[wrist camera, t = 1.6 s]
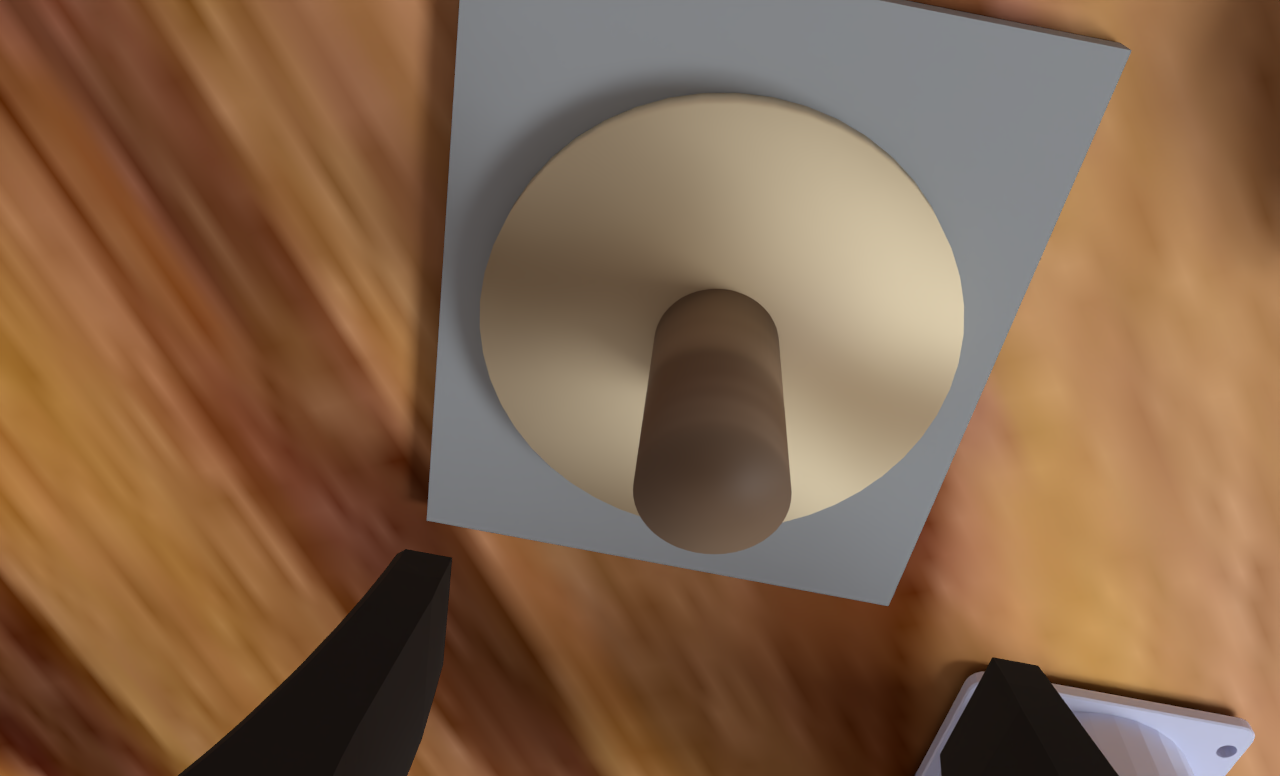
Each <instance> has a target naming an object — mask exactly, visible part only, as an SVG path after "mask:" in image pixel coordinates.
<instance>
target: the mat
mask: <svg viewBox="0 0 1280 776" xmlns="http://www.w3.org/2000/svg"><path fill="white" fill-rule="evenodd" d="M1131 51H1132V50H1130V49H1129V48H1127V47H1125V46H1124V45H1122V44H1121V43H1118V42H1113V41H1108V40H1103V39H1098V38H1093V37H1088V36H1083V35H1078V34H1072V33H1067V32H1062V31H1057V30H1052V29H1047V28H1042V27H1037V26H1032V25H1027V24H1022V23H1017V22H1012V21H1007V20H1002V19H997V18H992V17H987V16H982V15H977V14H972V13H967V12H962V11H957V10H952V9H947V8H942V7H937V6H932V5H927V4H922V3H917V2H912V1H907V0H460V2H459V17H458V33H457V49H456V65H455V81H454V97H453V113H452V128H451V144H450V160H449V176H448V192H447V208H446V224H445V240H444V255H443V271H442V287H441V303H440V319H439V335H438V351H437V366H436V382H435V398H434V414H433V430H432V446H431V462H430V477H429V493H428V509H427V521H432V522H437V523H443V524H448V525H454V526H459V527H464V528H470V529H475V530H481V531H486V532H491V533H497V534H502V535H508V536H513V537H518V538H524V539H529V540H535V541H540V542H545V543H551V544H556V545H562V546H567V547H572V548H578V549H583V550H589V551H594V552H599V553H605V554H610V555H616V556H621V557H626V558H632V559H637V560H642V561H648V562H653V563H659V564H664V565H669V566H675V567H680V568H686V569H691V570H696V571H702V572H707V573H713V574H718V575H723V576H729V577H734V578H740V579H745V580H750V581H756V582H761V583H767V584H772V585H777V586H783V587H788V588H794V589H799V590H804V591H810V592H815V593H821V594H826V595H831V596H837V597H842V598H848V599H853V600H858V601H864V602H869V603H875V604H880V605H885V606H889V603H890V601H891V599H892V597H893V594H894V592H895V590H896V587H897V585H898V583H899V581H900V578H901V576H902V574H903V571H904V569H905V567H906V565H907V562H908V560H909V558H910V556H911V553H912V551H913V549H914V546H915V544H916V542H917V540H918V537H919V535H920V533H921V530H922V528H923V526H924V524H925V521H926V519H927V517H928V514H929V512H930V510H931V508H932V505H933V503H934V501H935V498H936V496H937V494H938V492H939V489H940V487H941V485H942V482H943V480H944V478H945V476H946V473H947V471H948V469H949V466H950V464H951V462H952V460H953V457H954V455H955V453H956V450H957V448H958V446H959V444H960V441H961V439H962V437H963V434H964V432H965V430H966V428H967V425H968V423H969V421H970V418H971V416H972V414H973V412H974V409H975V407H976V405H977V402H978V400H979V398H980V396H981V393H982V391H983V389H984V386H985V384H986V382H987V380H988V377H989V375H990V373H991V370H992V368H993V366H994V364H995V361H996V359H997V357H998V354H999V352H1000V350H1001V348H1002V345H1003V343H1004V341H1005V338H1006V336H1007V334H1008V332H1009V329H1010V327H1011V325H1012V322H1013V320H1014V318H1015V316H1016V313H1017V311H1018V309H1019V306H1020V304H1021V302H1022V300H1023V297H1024V295H1025V293H1026V290H1027V288H1028V286H1029V284H1030V281H1031V279H1032V277H1033V274H1034V272H1035V270H1036V268H1037V265H1038V263H1039V261H1040V258H1041V256H1042V254H1043V252H1044V249H1045V247H1046V245H1047V242H1048V240H1049V238H1050V236H1051V233H1052V231H1053V229H1054V226H1055V224H1056V222H1057V220H1058V217H1059V215H1060V213H1061V210H1062V208H1063V206H1064V204H1065V201H1066V199H1067V197H1068V194H1069V192H1070V190H1071V188H1072V185H1073V183H1074V181H1075V178H1076V176H1077V174H1078V172H1079V169H1080V167H1081V165H1082V162H1083V160H1084V158H1085V156H1086V153H1087V151H1088V149H1089V146H1090V144H1091V142H1092V140H1093V137H1094V135H1095V133H1096V131H1097V128H1098V126H1099V124H1100V121H1101V119H1102V117H1103V115H1104V112H1105V110H1106V108H1107V105H1108V103H1109V101H1110V99H1111V96H1112V94H1113V92H1114V89H1115V87H1116V85H1117V83H1118V80H1119V78H1120V76H1121V73H1122V71H1123V69H1124V67H1125V64H1126V62H1127V60H1128V57H1129V55H1130V53H1131ZM700 93H744V94H752V95H760V96H767V97H774V98H778V99H782V100H785V101H789V102H793V103H797V104H800V105H804V106H807V107H810V108H812V109H814V110H817V111H819V112H822V113H824V114H826V115H829V116H831V117H834V118H836V119H838V120H840V121H842V122H843V123H845V124H847V125H848V126H850V127H852V128H853V129H855V130H857V131H858V132H860V133H862V134H864V135H865V136H867V137H868V138H869V139H871V140H872V141H873V142H874V143H876V144H877V145H878V146H879V147H881V148H882V149H883V150H884V151H885V152H887V153H888V154H889V155H890V156H892V157H893V158H894V159H895V160H896V162H897V163H898V164H899V165H900V166H901V167H902V168H903V169H904V170H905V171H906V172H907V173H908V174H909V176H910V177H911V178H912V179H913V180H914V181H915V183H916V184H917V186H918V187H919V189H920V190H921V192H922V193H923V194H924V196H925V197H926V199H927V200H928V202H929V203H930V205H931V206H932V209H933V211H934V213H935V215H936V217H937V219H938V221H939V223H940V225H941V227H942V229H943V232H944V234H945V236H946V238H947V240H948V242H949V244H950V246H951V248H952V251H953V255H954V258H955V261H956V265H957V268H958V272H959V275H960V279H961V287H962V294H963V302H964V335H963V341H962V347H961V352H960V358H959V363H958V366H957V369H956V372H955V375H954V378H953V381H952V384H951V387H950V390H949V392H948V394H947V396H946V398H945V400H944V402H943V404H942V406H941V408H940V410H939V412H938V414H937V416H936V417H935V419H934V420H933V421H932V423H931V424H930V426H929V427H928V429H927V430H926V432H925V433H924V435H923V436H922V437H921V439H920V440H919V441H918V442H917V443H916V444H915V445H914V446H913V448H912V449H911V450H910V451H909V452H908V453H907V454H906V455H905V457H904V458H903V459H901V460H900V461H899V462H898V463H897V464H896V465H895V466H893V467H892V468H891V469H890V470H889V471H888V472H887V473H885V474H884V475H883V476H882V477H880V478H879V479H877V480H876V481H875V482H873V483H872V484H870V485H869V486H867V487H866V488H864V489H863V490H861V491H860V492H858V493H856V494H854V495H852V496H851V497H849V498H847V499H845V500H843V501H841V502H839V503H837V504H835V505H833V506H831V507H828V508H826V509H823V510H821V511H818V512H816V513H813V514H810V515H808V516H804V517H800V518H797V519H793V520H790V521H786V522H782V524H781V525H780V526H779V527H778V529H777V530H776V531H775V532H774V533H773V534H772V535H770V536H769V537H768V538H766V539H765V540H764V541H762V542H760V543H758V544H757V545H755V546H753V547H750V548H747V549H745V550H741V551H738V552H733V553H727V554H702V553H695V552H691V551H687V550H684V549H681V548H678V547H676V546H673V545H671V544H669V543H667V542H666V541H664V540H663V539H661V538H660V537H658V536H657V535H656V534H654V533H653V532H652V531H651V530H650V529H649V528H648V527H647V526H646V524H645V523H644V522H643V520H642V519H641V517H640V516H637V515H635V514H632V513H629V512H626V511H623V510H620V509H618V508H616V507H614V506H612V505H610V504H607V503H605V502H603V501H601V500H599V499H597V498H595V497H593V496H591V495H590V494H588V493H587V492H585V491H583V490H582V489H580V488H578V487H577V486H575V485H574V484H572V483H571V482H569V481H568V480H567V479H565V478H564V477H563V476H562V475H560V474H559V473H558V472H556V471H555V470H554V469H553V468H551V467H550V466H549V465H548V464H547V463H546V462H545V461H544V460H543V459H542V458H541V457H540V456H539V455H538V454H537V453H536V452H535V451H534V450H533V449H532V448H531V447H530V446H529V444H528V443H527V442H526V441H525V439H524V438H523V437H522V435H521V434H520V433H519V432H518V430H517V429H516V428H515V426H514V425H513V423H512V422H511V420H510V418H509V417H508V415H507V413H506V412H505V410H504V408H503V407H502V405H501V403H500V401H499V398H498V396H497V394H496V391H495V389H494V387H493V385H492V382H491V380H490V376H489V373H488V369H487V366H486V362H485V359H484V355H483V349H482V341H481V333H480V297H481V291H482V285H483V279H484V273H485V270H486V266H487V263H488V260H489V257H490V254H491V251H492V248H493V245H494V243H495V241H496V239H497V237H498V235H499V233H500V231H501V229H502V227H503V225H504V223H505V221H506V219H507V217H508V215H509V213H510V211H511V209H512V207H513V205H514V204H515V202H516V201H517V199H518V198H519V196H520V195H521V194H522V192H523V191H524V189H525V188H526V186H527V185H528V184H529V182H530V181H531V179H532V178H533V177H534V176H535V175H536V174H537V173H538V172H539V171H540V170H541V169H542V167H543V166H544V165H545V164H546V163H547V162H548V161H549V160H550V159H551V158H552V157H553V156H554V155H555V154H557V153H558V152H559V151H560V150H562V149H563V148H564V147H565V146H566V145H568V144H569V143H570V142H571V141H573V140H574V139H575V138H576V137H578V136H580V135H581V134H583V133H585V132H586V131H588V130H590V129H591V128H593V127H595V126H596V125H598V124H600V123H601V122H603V121H605V120H607V119H609V118H611V117H614V116H616V115H618V114H621V113H623V112H625V111H628V110H630V109H632V108H635V107H638V106H641V105H645V104H648V103H652V102H656V101H659V100H663V99H666V98H671V97H678V96H685V95H693V94H700Z"/></svg>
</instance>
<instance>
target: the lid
mask: <svg viewBox="0 0 1280 776" xmlns="http://www.w3.org/2000/svg"><path fill="white" fill-rule="evenodd" d="M480 333H481V341H482V349H483V355H484V359H485V362H486V366H487V369H488V373H489V376H490V380H491V382H492V385H493V387H494V389H495V391H496V394H497V396H498V398H499V401H500V403H501V405H502V407H503V408H504V410H505V412H506V413H507V415H508V417H509V418H510V420H511V422H512V423H513V425H514V426H515V428H516V429H517V430H518V432H519V433H520V434H521V435H522V437H523V438H524V439H525V441H526V442H527V443H528V444H529V446H530V447H531V448H532V449H533V450H534V451H535V452H536V453H537V454H538V455H539V456H540V457H541V458H542V459H543V460H544V461H545V462H546V463H547V464H548V465H549V466H550V467H551V468H553V469H554V470H555V471H556V472H558V473H559V474H560V475H562V476H563V477H564V478H565V479H567V480H568V481H569V482H571V483H572V484H574V485H575V486H577V487H578V488H580V489H582V490H583V491H585V492H587V493H588V494H590V495H591V496H593V497H595V498H597V499H599V500H601V501H603V502H605V503H607V504H610V505H612V506H614V507H616V508H618V509H620V510H623V511H626V512H629V513H632V514H635V515H637V516H640V517H641V519H642V520H643V522H644V523H645V524H646V526H647V527H648V528H649V529H650V530H651V531H652V532H653V533H654V534H656V535H657V536H658V537H660V538H661V539H663V540H664V541H666V542H667V543H669V544H671V545H673V546H676V547H678V548H681V549H684V550H687V551H691V552H695V553H702V554H727V553H733V552H738V551H741V550H745V549H747V548H750V547H753V546H755V545H757V544H758V543H760V542H762V541H764V540H765V539H766V538H768V537H769V536H770V535H772V534H773V533H774V532H775V531H776V530H777V529H778V527H779V526H780V525H781V524H782V522H786V521H790V520H793V519H797V518H800V517H804V516H808V515H810V514H813V513H816V512H818V511H821V510H823V509H826V508H828V507H831V506H833V505H835V504H837V503H839V502H841V501H843V500H845V499H847V498H849V497H851V496H852V495H854V494H856V493H858V492H860V491H861V490H863V489H864V488H866V487H867V486H869V485H870V484H872V483H873V482H875V481H876V480H877V479H879V478H880V477H882V476H883V475H884V474H885V473H887V472H888V471H889V470H890V469H891V468H892V467H893V466H895V465H896V464H897V463H898V462H899V461H900V460H901V459H903V458H904V457H905V455H906V454H907V453H908V452H909V451H910V450H911V449H912V448H913V446H914V445H915V444H916V443H917V442H918V441H919V440H920V439H921V437H922V436H923V435H924V433H925V432H926V430H927V429H928V427H929V426H930V424H931V423H932V421H933V420H934V419H935V417H936V416H937V414H938V412H939V410H940V408H941V406H942V404H943V402H944V400H945V398H946V396H947V394H948V392H949V390H950V387H951V384H952V381H953V378H954V375H955V372H956V369H957V366H958V363H959V358H960V352H961V347H962V341H963V335H964V302H963V294H962V287H961V279H960V275H959V272H958V268H957V265H956V261H955V258H954V255H953V251H952V248H951V246H950V244H949V242H948V240H947V238H946V236H945V234H944V232H943V229H942V227H941V225H940V223H939V221H938V219H937V217H936V215H935V213H934V211H933V209H932V206H931V205H930V203H929V202H928V200H927V199H926V197H925V196H924V194H923V193H922V192H921V190H920V189H919V187H918V186H917V184H916V183H915V181H914V180H913V179H912V178H911V177H910V176H909V174H908V173H907V172H906V171H905V170H904V169H903V168H902V167H901V166H900V165H899V164H898V163H897V162H896V160H895V159H894V158H893V157H892V156H890V155H889V154H888V153H887V152H885V151H884V150H883V149H882V148H881V147H879V146H878V145H877V144H876V143H874V142H873V141H872V140H871V139H869V138H868V137H867V136H865V135H864V134H862V133H860V132H858V131H857V130H855V129H853V128H852V127H850V126H848V125H847V124H845V123H843V122H842V121H840V120H838V119H836V118H834V117H831V116H829V115H826V114H824V113H822V112H819V111H817V110H814V109H812V108H810V107H807V106H804V105H800V104H797V103H793V102H789V101H785V100H782V99H778V98H774V97H767V96H760V95H752V94H744V93H700V94H693V95H685V96H678V97H671V98H666V99H663V100H659V101H656V102H652V103H648V104H645V105H641V106H638V107H635V108H632V109H630V110H628V111H625V112H623V113H621V114H618V115H616V116H614V117H611V118H609V119H607V120H605V121H603V122H601V123H600V124H598V125H596V126H595V127H593V128H591V129H590V130H588V131H586V132H585V133H583V134H581V135H580V136H578V137H576V138H575V139H574V140H573V141H571V142H570V143H569V144H568V145H566V146H565V147H564V148H563V149H562V150H560V151H559V152H558V153H557V154H555V155H554V156H553V157H552V158H551V159H550V160H549V161H548V162H547V163H546V164H545V165H544V166H543V167H542V169H541V170H540V171H539V172H538V173H537V174H536V175H535V176H534V177H533V178H532V179H531V181H530V182H529V184H528V185H527V186H526V188H525V189H524V191H523V192H522V194H521V195H520V196H519V198H518V199H517V201H516V202H515V204H514V205H513V207H512V209H511V211H510V213H509V215H508V217H507V219H506V221H505V223H504V225H503V227H502V229H501V231H500V233H499V235H498V237H497V239H496V241H495V243H494V245H493V248H492V251H491V254H490V257H489V260H488V263H487V266H486V270H485V273H484V279H483V285H482V291H481V297H480Z"/></svg>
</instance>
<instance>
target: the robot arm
mask: <svg viewBox="0 0 1280 776" xmlns="http://www.w3.org/2000/svg"><path fill="white" fill-rule="evenodd" d="M451 564H452V558H451V557H445V556H440V555H434V554H429V553H424V552H418V551H413V550H407V549H406V550H404V551H402V552H400V553H398V554H397V555H396V556H395V558H394V559H393V560H392V562H391V563H390V564H389V566H388V567H387V568H386V570H385V571H384V572H383V573H382V575H381V576H380V577H379V578H378V580H377V581H376V582H375V583H374V585H373V586H372V587H371V588H370V589H369V591H368V592H367V593H366V594H365V595H364V597H363V598H362V599H361V600H360V601H359V602H358V604H357V605H356V606H355V607H354V608H353V609H352V610H351V611H350V613H349V614H348V615H347V616H346V617H345V618H344V619H343V621H342V622H341V623H340V624H339V625H338V626H337V627H336V628H335V629H334V630H333V631H332V632H331V634H330V635H329V636H328V637H327V638H326V639H325V640H324V641H323V642H322V643H321V644H320V645H319V646H318V647H317V648H316V649H315V650H314V651H313V653H312V654H311V655H310V656H309V657H308V658H307V659H306V660H305V661H304V662H303V663H302V664H301V665H300V666H299V667H298V668H297V669H296V670H295V671H294V672H293V673H292V674H291V675H290V676H289V677H288V678H287V679H286V680H285V681H284V682H283V683H282V684H281V685H280V686H279V687H278V688H277V689H275V690H274V691H273V692H272V693H271V694H270V695H269V696H268V697H267V698H266V699H265V700H264V701H263V702H262V703H261V704H260V705H259V706H258V707H256V708H255V709H254V710H253V711H252V712H251V713H250V714H249V715H248V716H247V717H246V718H245V719H244V720H243V721H242V722H240V723H239V724H238V725H237V726H236V727H235V728H234V729H233V730H231V731H230V732H229V733H228V734H227V735H226V736H225V737H223V738H222V739H221V740H220V741H219V742H218V743H217V744H215V745H214V746H213V747H212V748H211V749H209V750H208V751H207V752H206V753H205V754H204V755H202V756H201V757H200V758H199V759H198V760H196V761H195V762H194V763H193V764H191V765H190V766H189V767H188V768H187V769H185V770H184V771H183V772H182V773H180V774H179V775H178V776H407V775H408V772H409V770H410V767H411V765H412V762H413V760H414V757H415V755H416V752H417V749H418V747H419V744H420V742H421V739H422V736H423V733H424V729H425V726H426V723H427V719H428V716H429V712H430V709H431V705H432V702H433V698H434V695H435V691H436V687H437V684H438V680H439V677H440V673H441V670H442V666H443V658H444V647H445V635H446V623H447V611H448V600H449V588H450V576H451ZM1254 738H1255V735H1254V732H1253V730H1252V728H1251V726H1250V724H1249V723H1248V722H1247V721H1246V720H1244V719H1241V718H1237V717H1232V716H1227V715H1221V714H1216V713H1210V712H1205V711H1199V710H1194V709H1189V708H1183V707H1178V706H1172V705H1167V704H1161V703H1156V702H1151V701H1145V700H1140V699H1134V698H1129V697H1123V696H1118V695H1113V694H1107V693H1102V692H1096V691H1091V690H1085V689H1080V688H1075V687H1069V686H1064V685H1058V684H1053V683H1051V682H1050V681H1049V680H1048V678H1047V677H1046V676H1045V674H1044V673H1043V672H1042V670H1041V669H1040V668H1039V667H1038V666H1036V665H1031V664H1025V663H1020V662H1015V661H1009V660H1004V659H998V658H992V660H991V661H990V663H989V665H988V667H987V669H986V671H981V672H977V673H974V674H972V675H970V676H969V677H968V678H967V679H966V681H965V682H964V684H963V686H962V688H961V690H960V692H959V694H958V695H957V697H956V699H955V701H954V703H953V705H952V707H951V709H950V710H949V712H948V714H947V716H946V718H945V720H944V722H943V724H942V726H941V727H940V729H939V731H938V733H937V735H936V737H935V739H934V741H933V742H932V744H931V746H930V748H929V750H928V752H927V754H926V756H925V758H924V759H923V761H922V763H921V765H920V767H919V769H918V771H917V773H916V774H915V776H1225V775H1226V774H1227V773H1228V771H1229V770H1230V769H1231V768H1232V767H1233V765H1234V764H1235V763H1236V762H1237V761H1238V759H1239V758H1240V757H1241V756H1242V754H1243V753H1244V752H1245V751H1246V750H1247V748H1248V747H1249V746H1250V745H1251V743H1252V742H1253V740H1254Z"/></svg>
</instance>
